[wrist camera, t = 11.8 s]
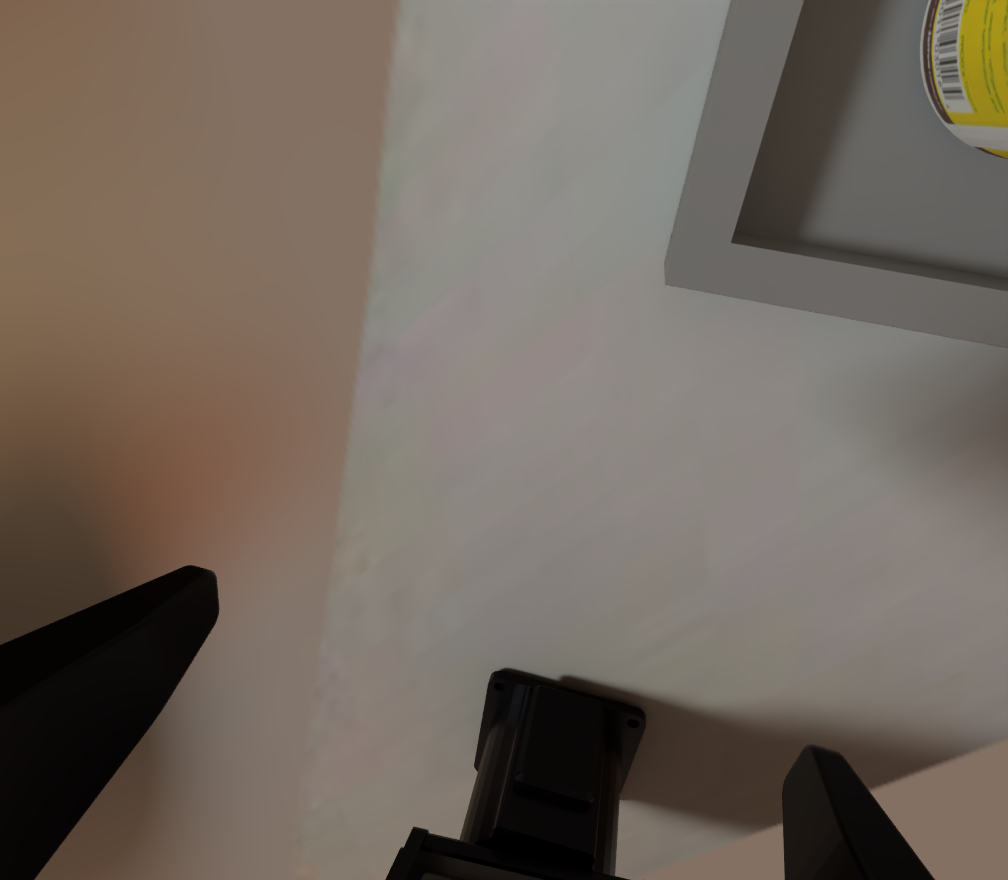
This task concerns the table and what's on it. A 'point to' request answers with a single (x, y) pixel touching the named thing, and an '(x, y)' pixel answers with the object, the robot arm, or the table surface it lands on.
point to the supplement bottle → (968, 70)
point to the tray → (840, 177)
